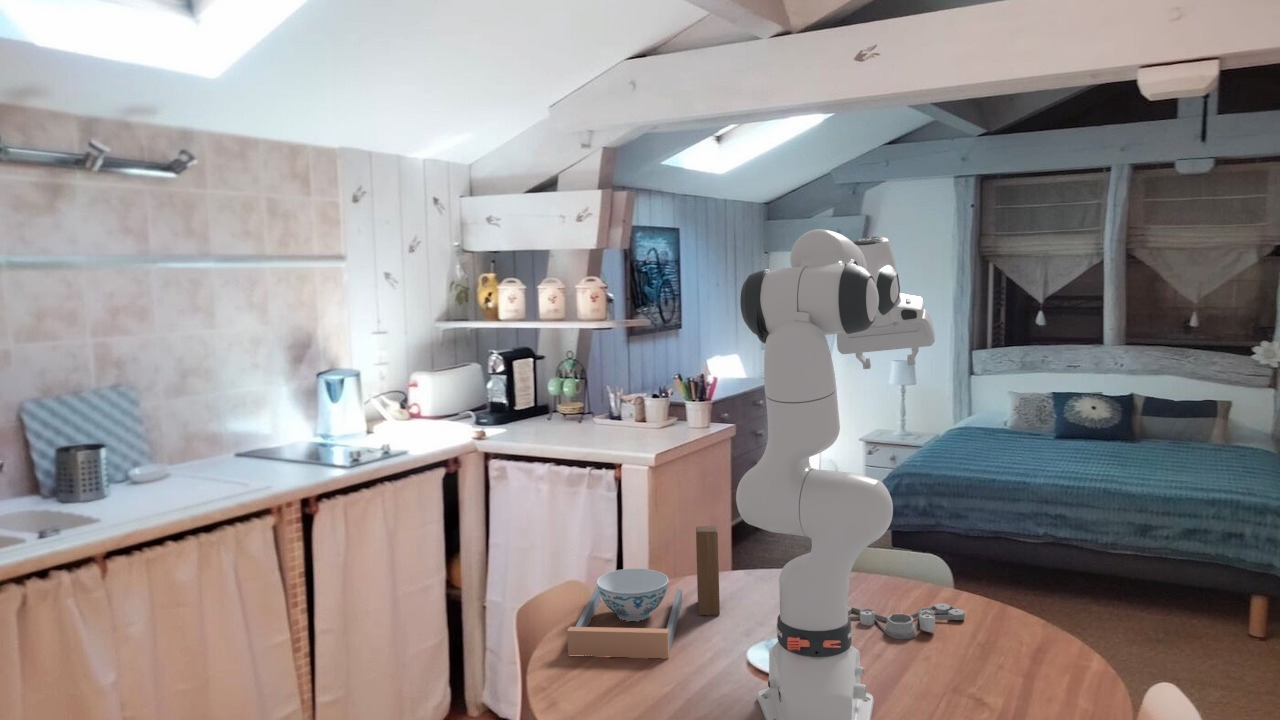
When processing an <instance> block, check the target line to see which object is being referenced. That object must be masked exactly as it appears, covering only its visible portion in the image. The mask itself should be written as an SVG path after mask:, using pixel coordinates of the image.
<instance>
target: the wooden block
mask: <svg viewBox="0 0 1280 720" xmlns="http://www.w3.org/2000/svg"><path fill="white" fill-rule="evenodd" d="M718 529H719V528H718V526H716V525H704V526H703V525H700V526H699V525H698V526H696V530H695V543H696V544H695V545H696V546H695V547H696V578H697V579H696V581H697V583H696V584H697V585H696V586H697V614H698V616H700V615H706V616H720V613H721V607H720V604H721V603H720V575H719V574H720V569H719V534H718V533H719V532H718V531H719V530H718Z"/></svg>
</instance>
